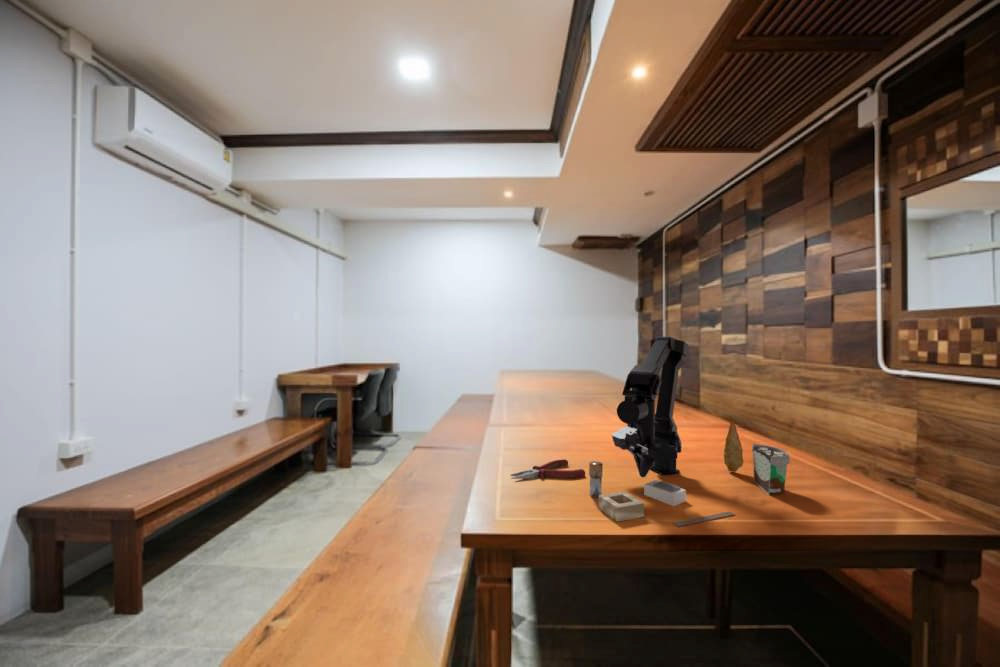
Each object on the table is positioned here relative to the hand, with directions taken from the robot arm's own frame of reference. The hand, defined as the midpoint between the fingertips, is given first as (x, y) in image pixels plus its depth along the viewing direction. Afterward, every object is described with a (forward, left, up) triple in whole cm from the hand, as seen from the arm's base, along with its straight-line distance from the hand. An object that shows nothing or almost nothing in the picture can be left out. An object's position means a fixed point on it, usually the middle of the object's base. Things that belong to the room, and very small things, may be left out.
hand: (642, 476), depth 108 cm
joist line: (+20, 0, -2) cm, 20 cm away
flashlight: (+1, -15, -3) cm, 15 cm away
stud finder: (+8, 0, -3) cm, 8 cm away
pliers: (-18, -19, -3) cm, 26 cm away
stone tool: (0, +32, -3) cm, 32 cm away
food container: (+13, +31, -3) cm, 34 cm away
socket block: (+11, -15, -2) cm, 19 cm away
